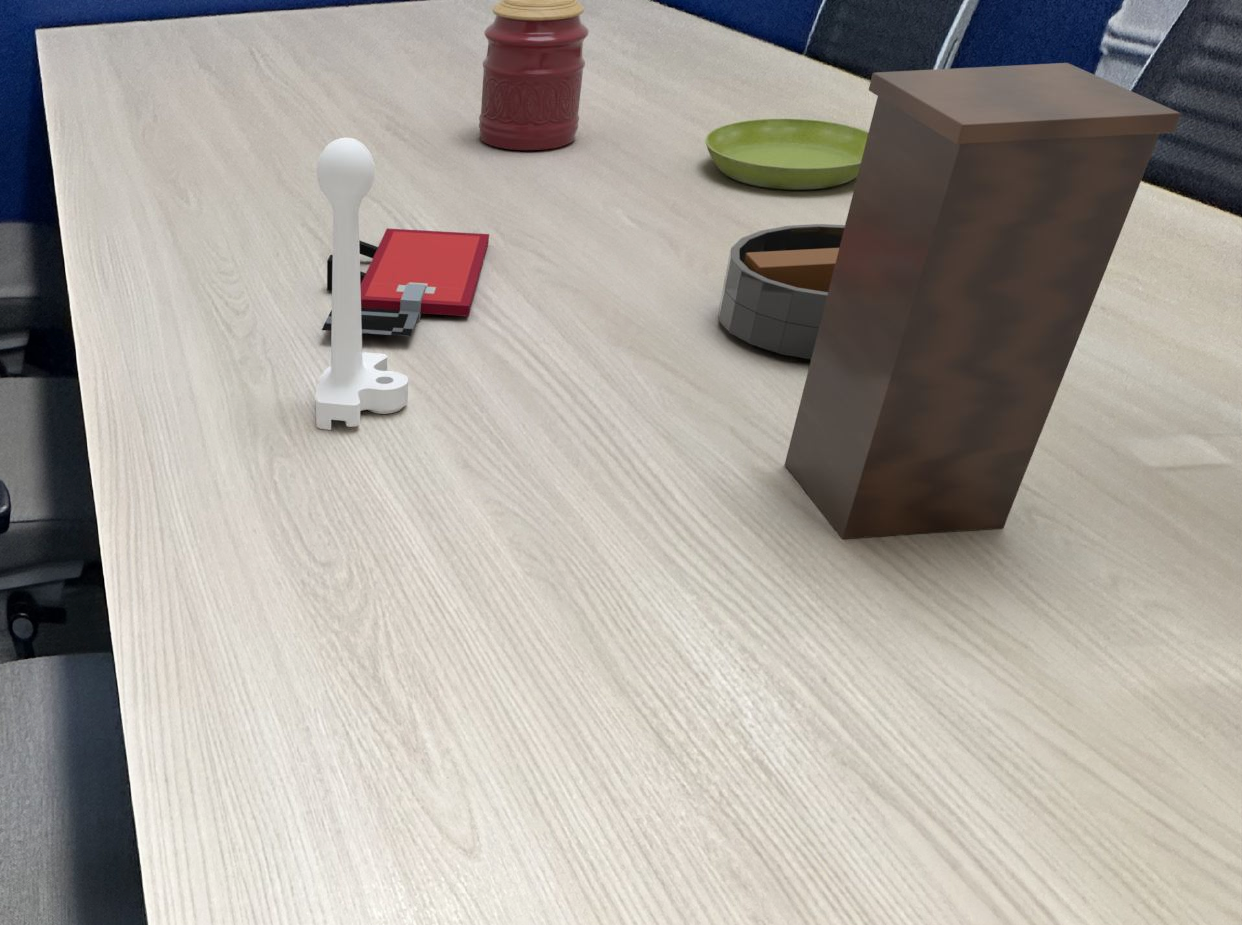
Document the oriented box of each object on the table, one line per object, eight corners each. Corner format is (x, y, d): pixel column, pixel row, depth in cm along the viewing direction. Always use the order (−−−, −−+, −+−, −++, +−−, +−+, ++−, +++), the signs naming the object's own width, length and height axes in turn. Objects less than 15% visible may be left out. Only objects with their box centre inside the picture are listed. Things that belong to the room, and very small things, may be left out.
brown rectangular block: (916, 277, 118) (927, 242, 116) (934, 292, 115) (945, 257, 113) (738, 287, 117) (745, 252, 115) (752, 302, 115) (759, 267, 113)
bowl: (883, 285, 126) (902, 219, 122) (972, 361, 112) (996, 290, 108) (691, 296, 125) (703, 230, 121) (757, 374, 111) (773, 303, 107)
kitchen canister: (466, 130, 170) (475, -33, 158) (558, 122, 172) (574, -39, 159) (493, 156, 161) (505, -14, 149) (590, 148, 163) (610, -22, 150)
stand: (935, 452, 100) (1068, 62, 82) (1013, 531, 91) (1182, 113, 72) (775, 462, 100) (872, 72, 81) (838, 543, 90) (962, 124, 72)
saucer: (687, 149, 161) (692, 119, 159) (851, 146, 160) (858, 116, 158) (717, 198, 147) (723, 167, 144) (897, 195, 146) (906, 164, 144)
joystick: (338, 375, 114) (336, 118, 99) (420, 382, 112) (429, 122, 98) (304, 427, 106) (296, 157, 92) (392, 435, 105) (397, 162, 90)
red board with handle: (301, 339, 119) (460, 349, 117) (301, 307, 117) (462, 318, 115) (352, 240, 140) (488, 248, 138) (353, 212, 138) (490, 219, 136)
